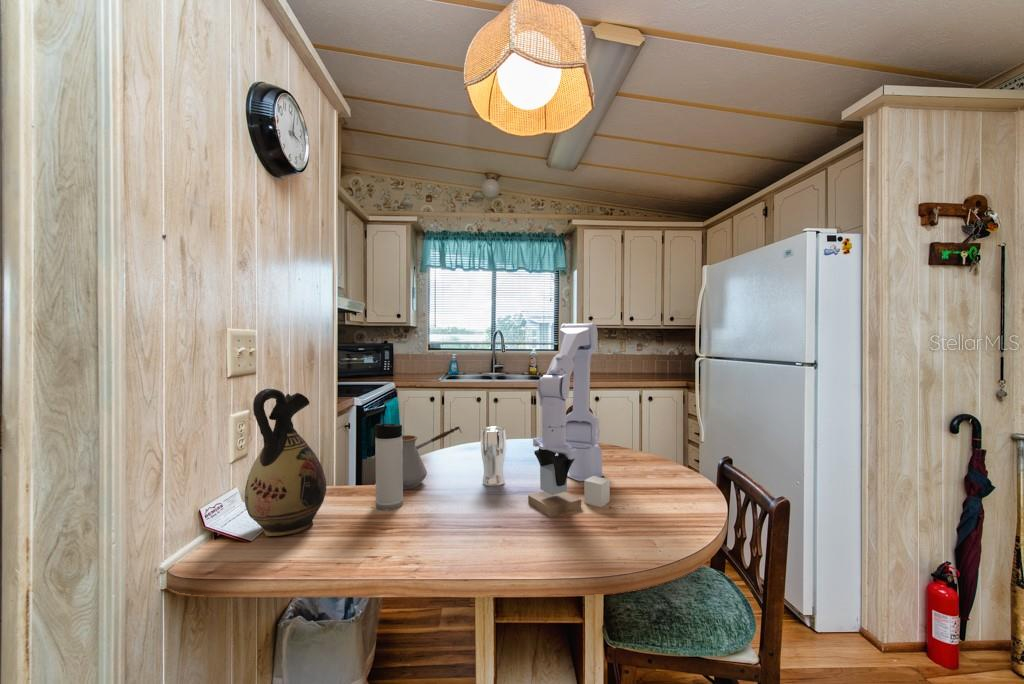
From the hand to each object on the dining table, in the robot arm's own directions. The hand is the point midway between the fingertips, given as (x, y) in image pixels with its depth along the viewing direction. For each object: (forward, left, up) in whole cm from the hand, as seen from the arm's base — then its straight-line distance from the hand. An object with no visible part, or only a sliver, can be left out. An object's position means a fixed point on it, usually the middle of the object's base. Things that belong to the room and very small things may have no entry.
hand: (554, 482), depth 103 cm
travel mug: (+33, -22, -6) cm, 40 cm away
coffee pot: (+20, -33, -6) cm, 39 cm away
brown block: (0, 0, -6) cm, 6 cm away
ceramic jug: (+56, -22, -6) cm, 60 cm away
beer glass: (+4, -22, -6) cm, 23 cm away
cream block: (-10, +4, -6) cm, 12 cm away
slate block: (0, 0, -2) cm, 2 cm away
